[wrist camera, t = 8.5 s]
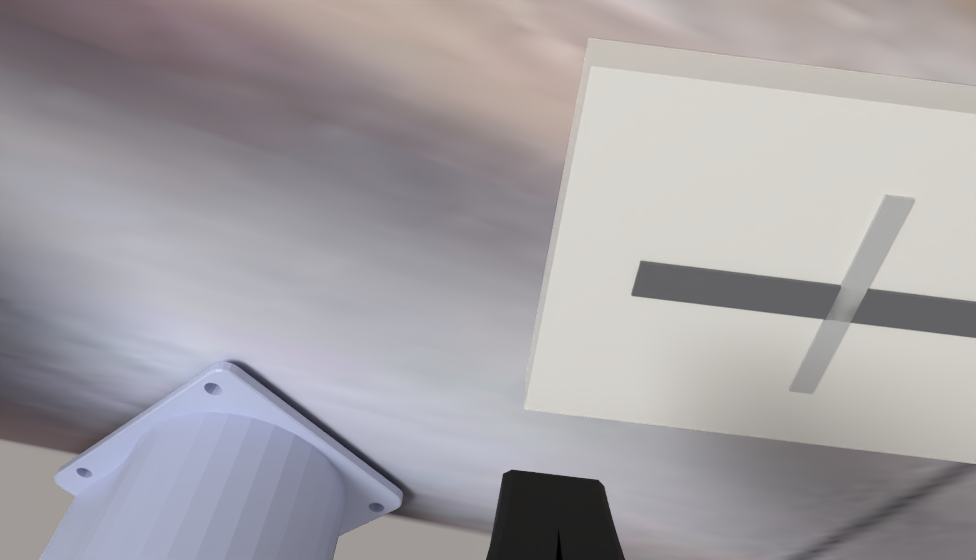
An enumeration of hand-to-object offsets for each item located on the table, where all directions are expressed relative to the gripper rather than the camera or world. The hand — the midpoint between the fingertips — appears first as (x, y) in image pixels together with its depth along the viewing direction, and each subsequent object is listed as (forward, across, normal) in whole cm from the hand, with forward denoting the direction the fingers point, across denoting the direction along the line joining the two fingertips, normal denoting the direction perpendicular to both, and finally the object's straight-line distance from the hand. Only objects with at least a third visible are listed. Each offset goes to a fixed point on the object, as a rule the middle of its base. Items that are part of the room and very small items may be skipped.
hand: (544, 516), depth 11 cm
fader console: (+9, -11, +1) cm, 15 cm away
